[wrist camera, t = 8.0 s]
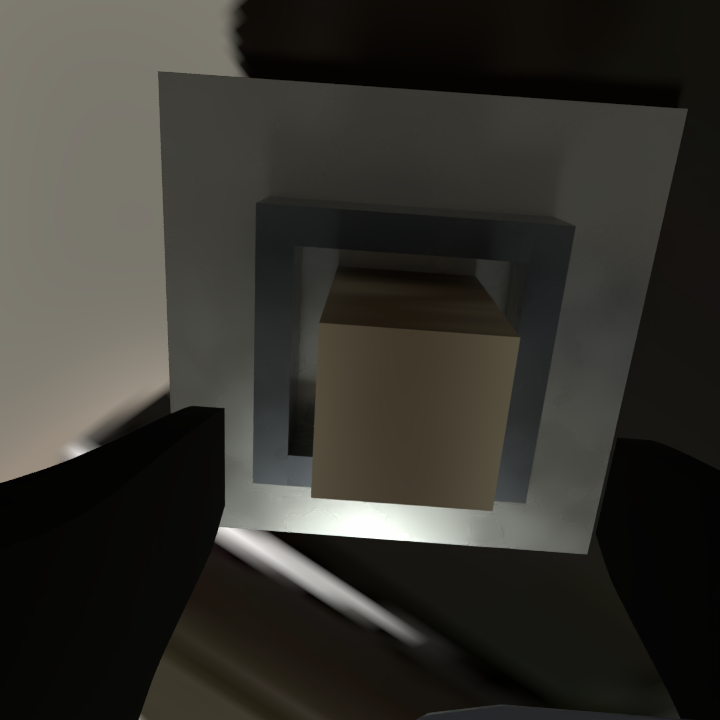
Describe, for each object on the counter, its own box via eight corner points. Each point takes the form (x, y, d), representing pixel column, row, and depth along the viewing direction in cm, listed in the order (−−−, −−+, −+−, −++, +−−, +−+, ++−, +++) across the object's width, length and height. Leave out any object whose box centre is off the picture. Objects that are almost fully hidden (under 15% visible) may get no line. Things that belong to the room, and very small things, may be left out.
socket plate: (677, 110, 17) (728, 104, 14) (581, 543, 21) (607, 594, 19) (165, 73, 17) (129, 61, 14) (180, 513, 22) (154, 561, 19)
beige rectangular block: (475, 276, 18) (520, 337, 12) (459, 402, 19) (492, 511, 14) (337, 266, 18) (319, 322, 12) (330, 393, 19) (310, 497, 14)
